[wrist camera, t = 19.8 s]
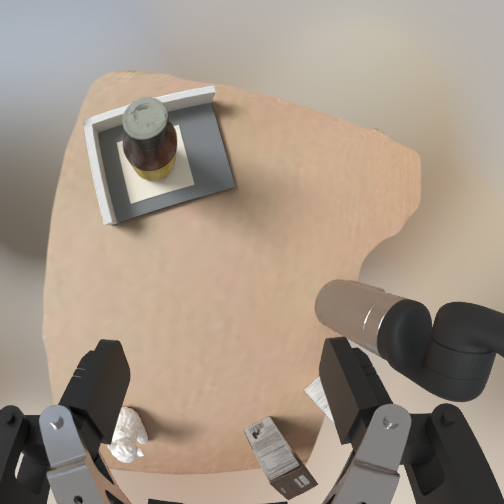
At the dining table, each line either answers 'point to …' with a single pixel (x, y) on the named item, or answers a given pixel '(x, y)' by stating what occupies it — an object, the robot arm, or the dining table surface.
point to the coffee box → (279, 459)
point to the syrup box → (319, 396)
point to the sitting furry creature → (128, 436)
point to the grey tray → (185, 167)
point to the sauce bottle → (149, 139)
